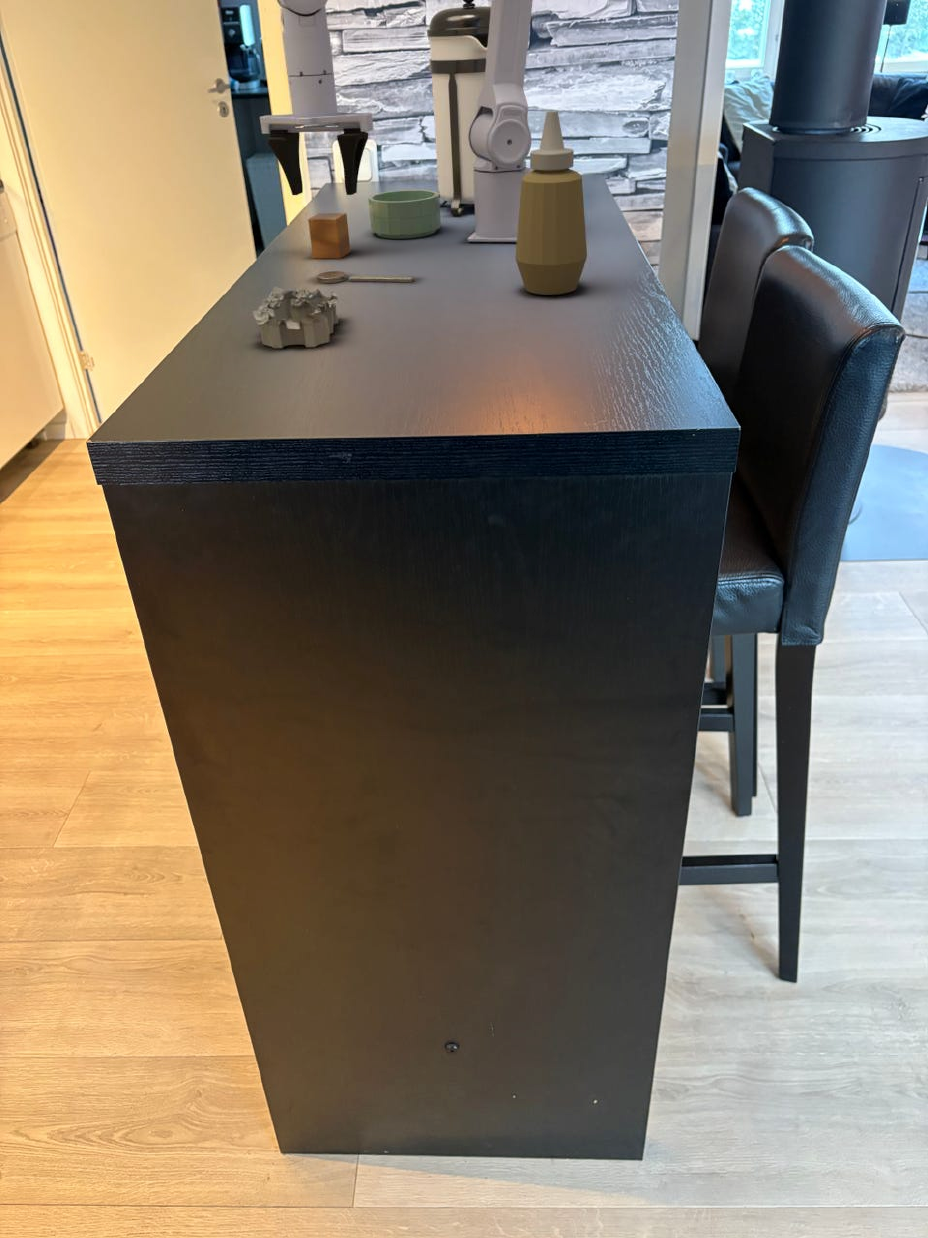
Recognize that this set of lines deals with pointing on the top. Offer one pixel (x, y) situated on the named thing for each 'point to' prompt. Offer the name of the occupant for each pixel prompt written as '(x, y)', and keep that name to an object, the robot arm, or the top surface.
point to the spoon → (359, 278)
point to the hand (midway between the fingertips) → (324, 193)
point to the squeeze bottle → (551, 217)
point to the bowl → (405, 213)
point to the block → (329, 235)
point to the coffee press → (457, 95)
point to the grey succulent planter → (296, 317)
